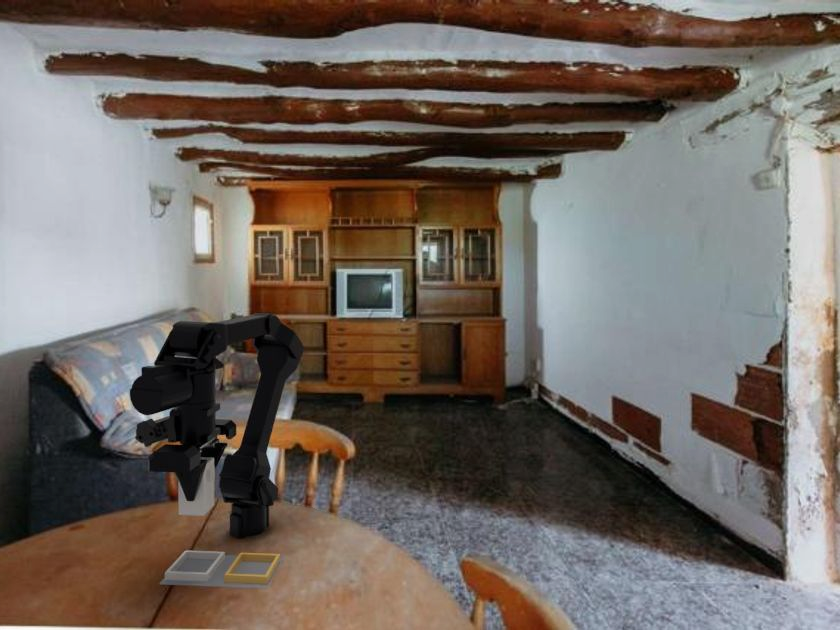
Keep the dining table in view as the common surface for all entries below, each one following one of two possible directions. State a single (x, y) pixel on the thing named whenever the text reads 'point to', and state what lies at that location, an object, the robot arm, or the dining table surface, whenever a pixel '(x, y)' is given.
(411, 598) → the dining table surface
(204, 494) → the plug
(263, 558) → the socket panel
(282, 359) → the robot arm
